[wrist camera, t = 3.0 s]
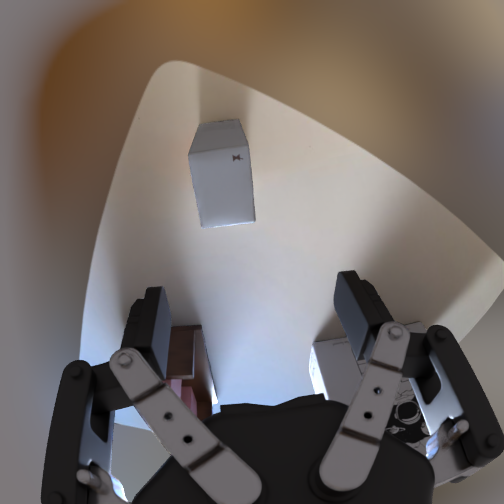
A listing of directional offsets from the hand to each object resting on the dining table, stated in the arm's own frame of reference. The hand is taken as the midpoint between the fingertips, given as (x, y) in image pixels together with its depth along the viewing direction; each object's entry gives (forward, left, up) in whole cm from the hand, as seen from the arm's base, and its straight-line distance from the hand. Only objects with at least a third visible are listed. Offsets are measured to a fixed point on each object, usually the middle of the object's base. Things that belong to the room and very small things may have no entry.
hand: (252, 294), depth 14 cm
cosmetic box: (-1, +2, -22) cm, 22 cm away
